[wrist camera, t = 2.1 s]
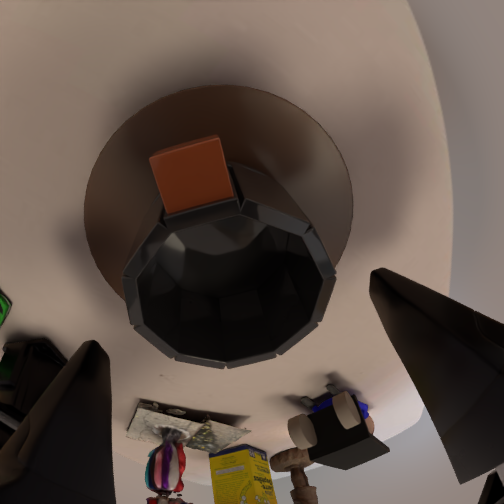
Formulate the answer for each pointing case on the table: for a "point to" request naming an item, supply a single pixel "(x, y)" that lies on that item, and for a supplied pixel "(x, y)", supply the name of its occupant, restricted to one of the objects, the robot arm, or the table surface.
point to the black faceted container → (223, 262)
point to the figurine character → (337, 431)
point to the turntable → (235, 150)
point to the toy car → (3, 309)
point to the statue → (175, 446)
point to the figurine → (296, 474)
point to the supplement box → (241, 476)
